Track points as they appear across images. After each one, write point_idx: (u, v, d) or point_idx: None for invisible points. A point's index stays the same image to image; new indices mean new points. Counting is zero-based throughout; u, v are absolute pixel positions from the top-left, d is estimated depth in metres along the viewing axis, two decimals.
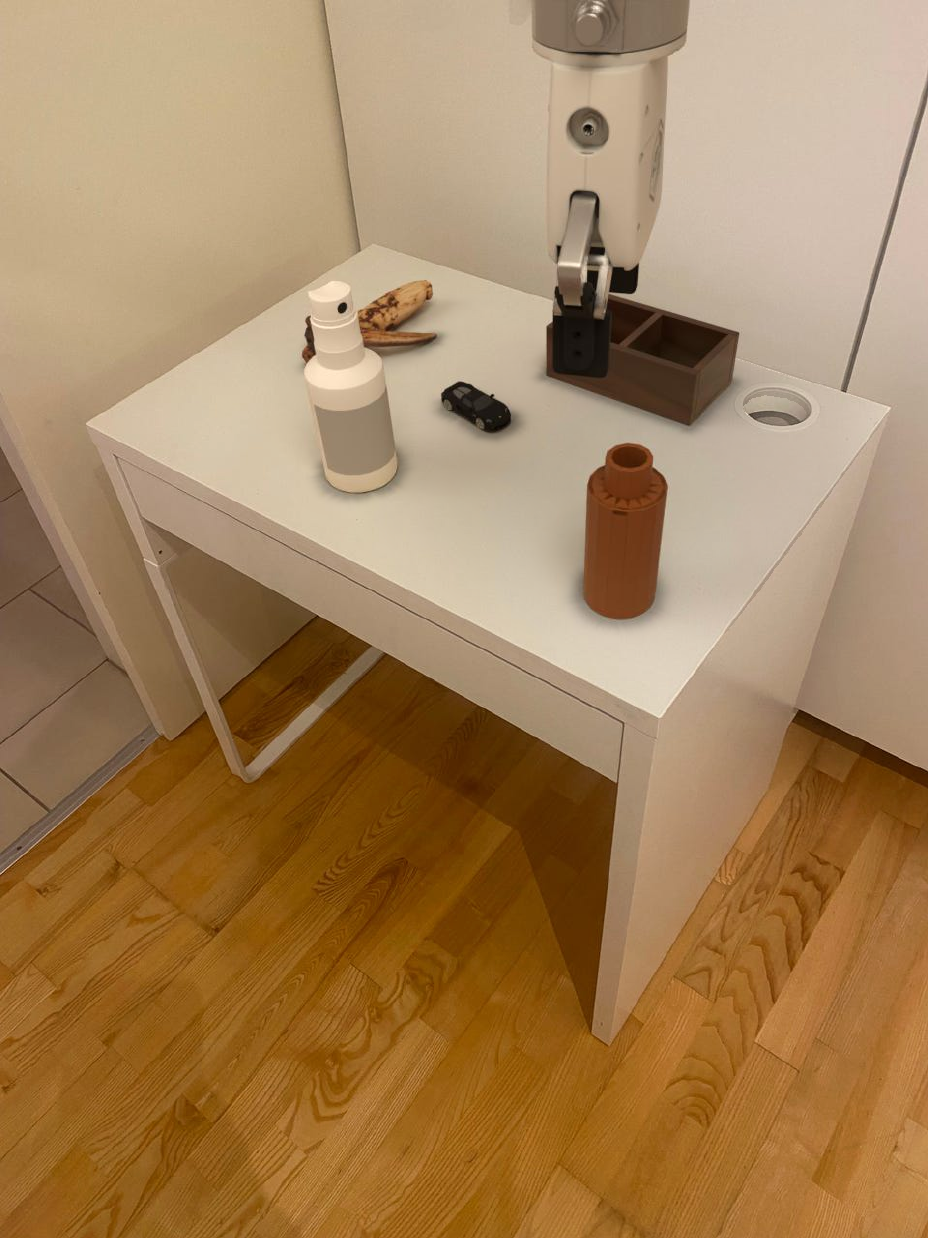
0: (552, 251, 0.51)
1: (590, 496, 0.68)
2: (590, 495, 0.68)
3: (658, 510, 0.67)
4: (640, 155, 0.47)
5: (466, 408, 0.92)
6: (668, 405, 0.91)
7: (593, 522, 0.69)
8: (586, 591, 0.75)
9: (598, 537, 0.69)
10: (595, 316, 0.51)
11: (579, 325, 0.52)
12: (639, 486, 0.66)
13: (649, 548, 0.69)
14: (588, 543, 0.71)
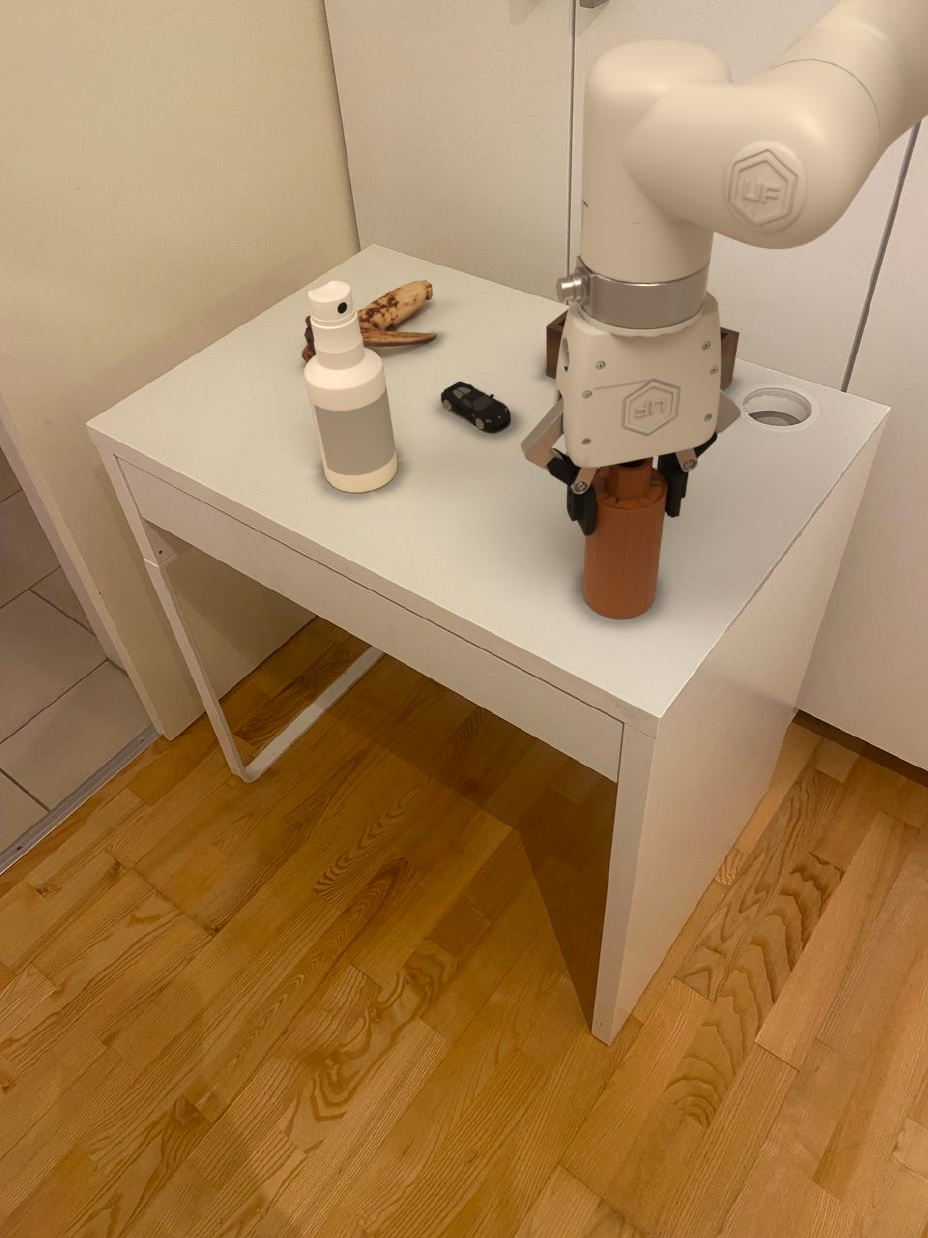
0: None
1: None
2: None
3: (658, 510, 0.67)
4: (590, 392, 0.59)
5: (466, 408, 0.92)
6: None
7: None
8: (586, 591, 0.75)
9: (598, 537, 0.69)
10: (573, 489, 0.66)
11: (570, 487, 0.67)
12: (639, 486, 0.66)
13: (649, 548, 0.69)
14: (588, 543, 0.71)
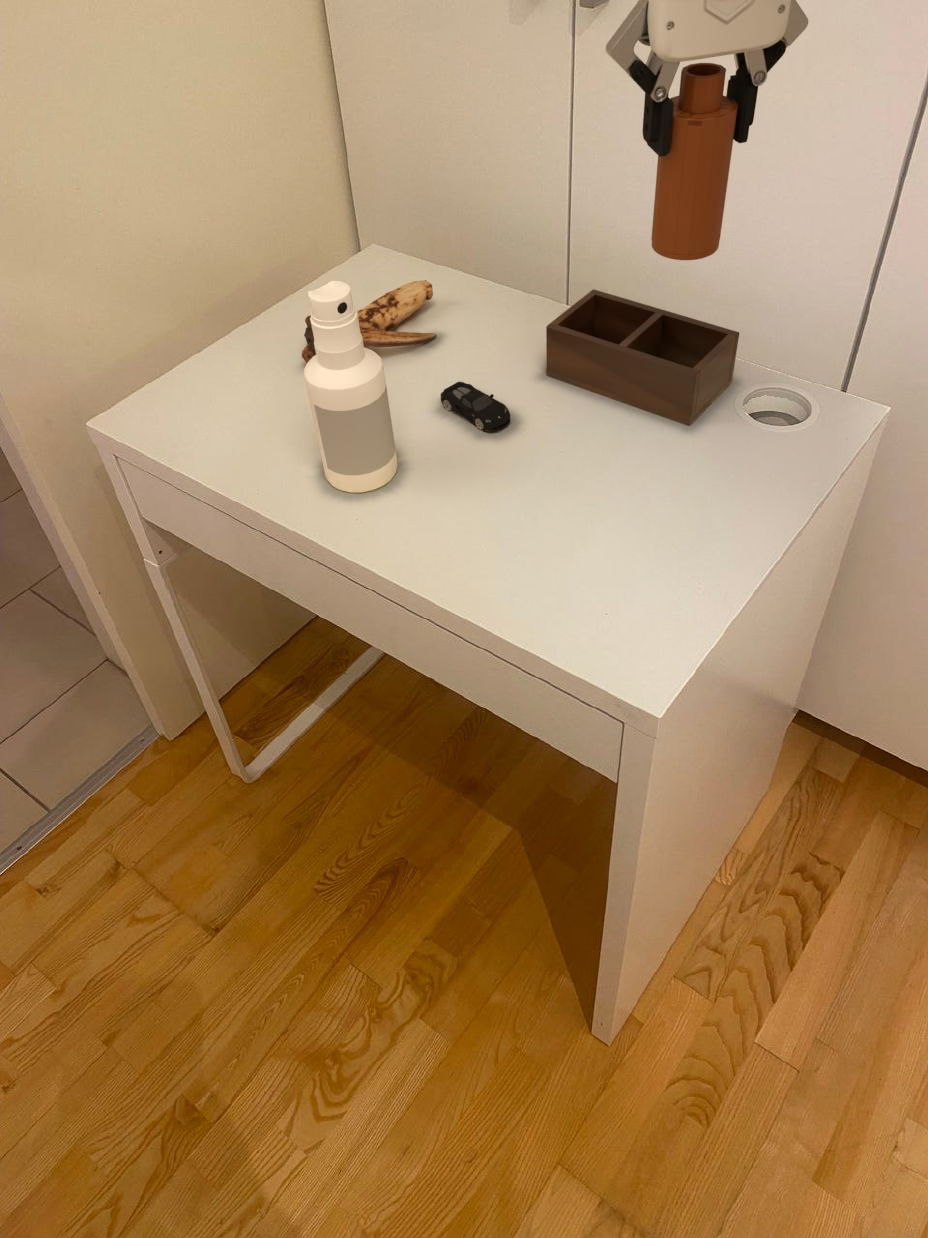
0: None
1: None
2: None
3: (729, 124, 0.72)
4: None
5: (465, 408, 0.92)
6: (668, 405, 0.91)
7: None
8: (655, 236, 0.80)
9: (671, 161, 0.74)
10: (652, 98, 0.71)
11: (648, 102, 0.72)
12: (713, 97, 0.71)
13: (719, 171, 0.74)
14: (660, 174, 0.76)
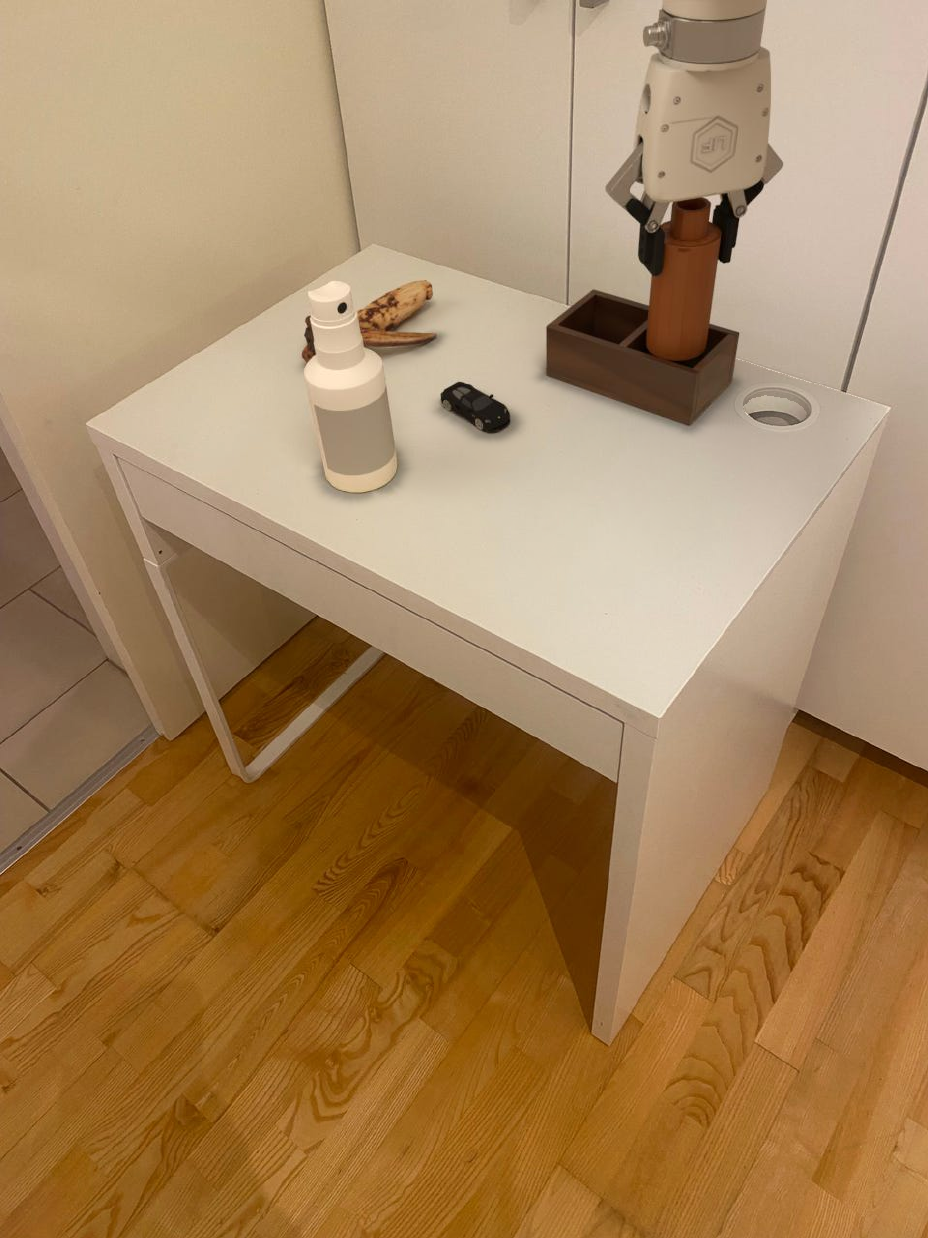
0: None
1: None
2: None
3: (714, 250, 0.82)
4: (667, 126, 0.74)
5: (465, 408, 0.92)
6: (668, 405, 0.91)
7: None
8: (649, 339, 0.90)
9: (663, 279, 0.84)
10: (646, 229, 0.81)
11: (643, 231, 0.82)
12: (699, 227, 0.81)
13: (705, 288, 0.84)
14: (654, 288, 0.86)
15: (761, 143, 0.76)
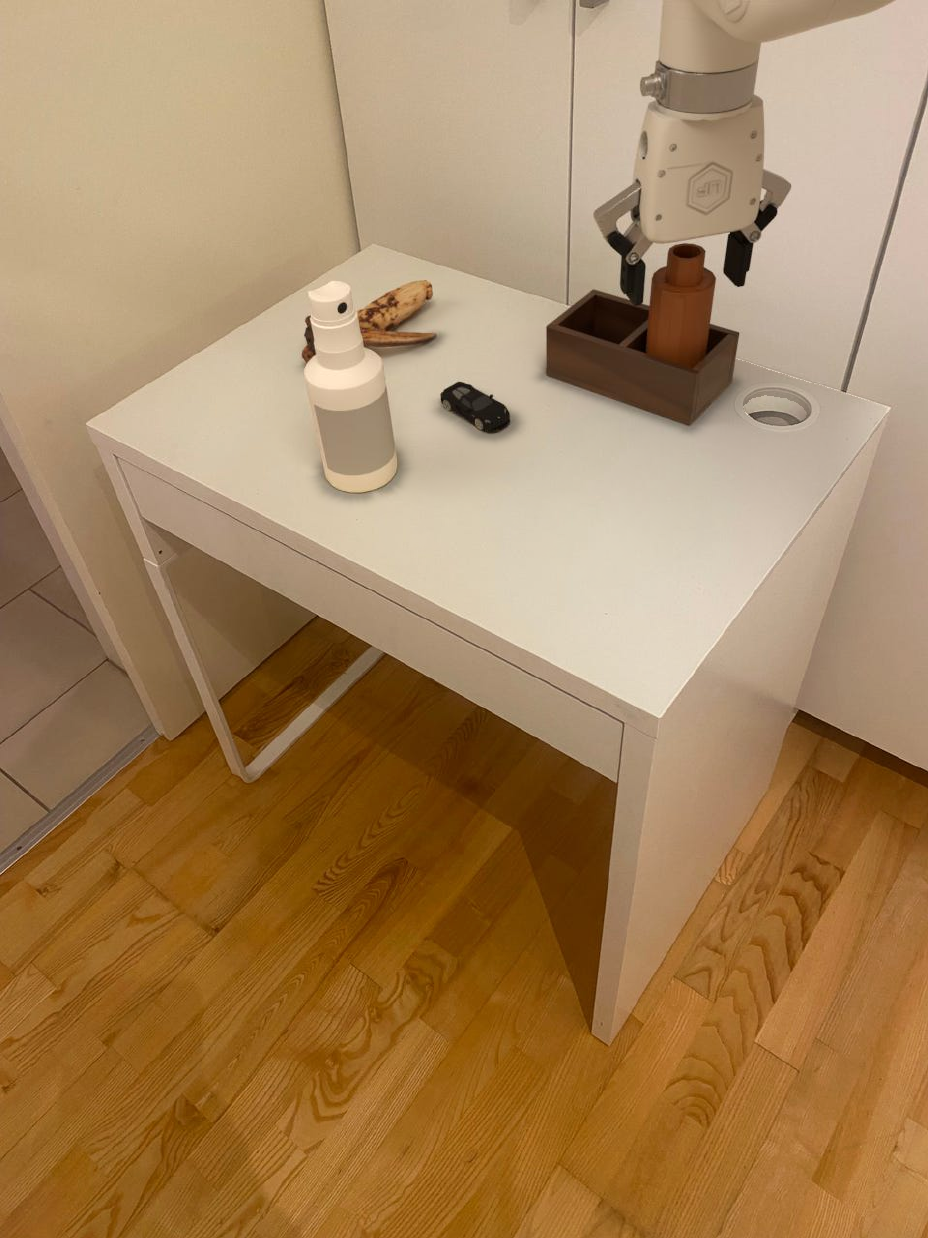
0: None
1: (654, 286, 0.86)
2: (655, 285, 0.86)
3: (708, 295, 0.85)
4: (663, 172, 0.76)
5: (465, 408, 0.92)
6: (668, 405, 0.91)
7: (656, 309, 0.87)
8: None
9: (660, 322, 0.87)
10: (626, 259, 0.82)
11: (624, 262, 0.83)
12: (694, 274, 0.84)
13: (700, 331, 0.87)
14: (651, 331, 0.89)
15: (755, 186, 0.79)
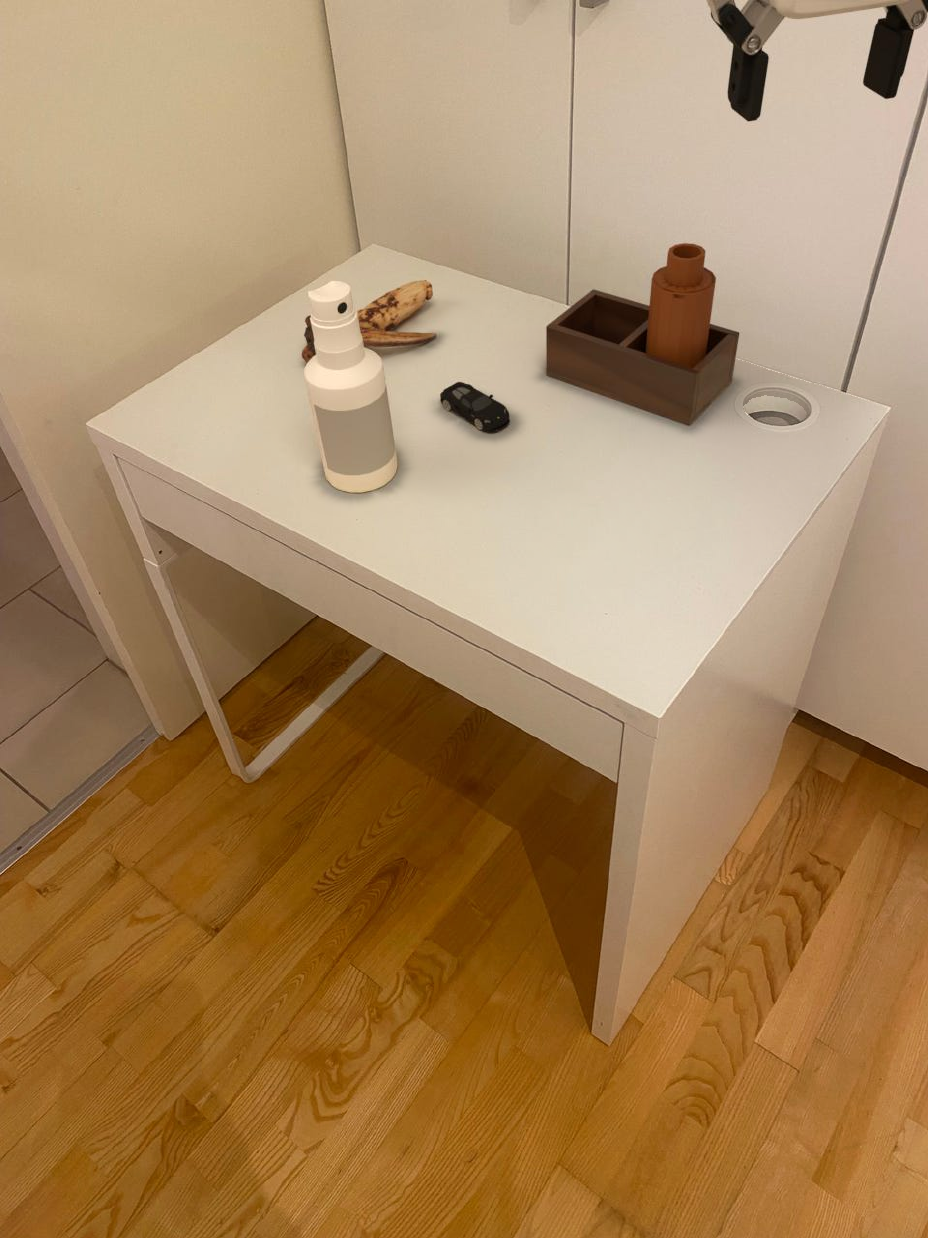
0: None
1: (654, 286, 0.86)
2: (655, 285, 0.86)
3: (708, 295, 0.85)
4: None
5: (465, 409, 0.92)
6: (668, 405, 0.91)
7: (656, 309, 0.87)
8: None
9: (660, 322, 0.87)
10: (742, 48, 0.59)
11: (738, 56, 0.61)
12: (694, 274, 0.84)
13: (700, 331, 0.87)
14: (651, 331, 0.89)
15: None
